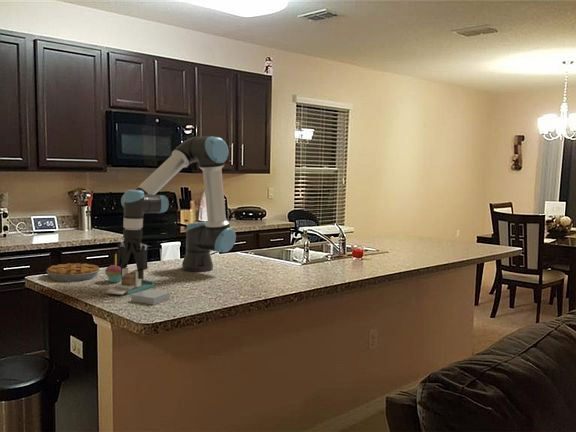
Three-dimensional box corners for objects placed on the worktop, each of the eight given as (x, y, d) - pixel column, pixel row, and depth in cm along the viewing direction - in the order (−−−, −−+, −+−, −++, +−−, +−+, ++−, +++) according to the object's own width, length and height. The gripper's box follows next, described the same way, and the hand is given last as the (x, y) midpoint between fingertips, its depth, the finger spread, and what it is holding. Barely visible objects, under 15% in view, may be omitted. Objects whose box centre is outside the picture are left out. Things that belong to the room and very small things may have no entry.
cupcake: (104, 279, 229) (105, 252, 228) (125, 278, 232) (125, 251, 231) (105, 283, 221) (105, 255, 220) (126, 283, 224) (127, 255, 223)
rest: (136, 283, 223) (136, 278, 223) (154, 286, 219) (154, 281, 219) (109, 291, 208) (109, 285, 208) (127, 294, 205) (127, 288, 205)
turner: (132, 278, 223) (131, 269, 222) (147, 279, 222) (147, 270, 221) (105, 293, 202) (104, 283, 202) (121, 294, 201) (121, 284, 200)
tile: (148, 289, 204) (131, 294, 195) (169, 292, 201) (153, 298, 191) (148, 296, 205) (131, 301, 195) (169, 299, 201) (153, 305, 192)
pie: (95, 270, 247) (95, 260, 246) (103, 280, 228) (103, 269, 227) (44, 273, 236) (44, 262, 236) (47, 283, 217) (47, 271, 217)
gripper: (158, 230, 211) (156, 286, 213) (120, 225, 219) (119, 280, 221) (146, 231, 204) (144, 290, 206) (107, 227, 212) (106, 283, 214)
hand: (131, 285), depth 214 cm, fingers closed on turner, 6 cm apart
